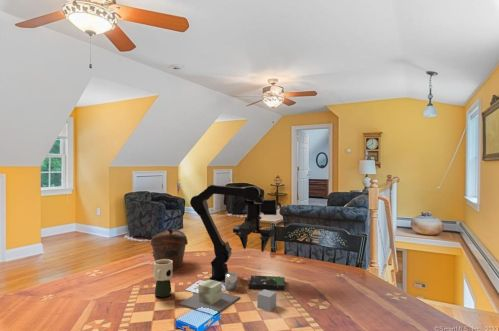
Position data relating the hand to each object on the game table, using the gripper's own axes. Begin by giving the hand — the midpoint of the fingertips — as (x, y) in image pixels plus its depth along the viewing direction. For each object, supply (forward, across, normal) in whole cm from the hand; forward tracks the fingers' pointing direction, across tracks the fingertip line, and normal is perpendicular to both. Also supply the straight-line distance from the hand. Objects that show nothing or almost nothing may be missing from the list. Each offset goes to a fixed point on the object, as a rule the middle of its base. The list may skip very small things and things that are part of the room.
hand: (253, 250), depth 137 cm
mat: (+13, -2, -27) cm, 30 cm away
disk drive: (+14, +8, -2) cm, 16 cm away
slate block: (+13, +18, -19) cm, 29 cm away
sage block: (+12, -2, -27) cm, 30 cm away
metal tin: (+13, -3, -13) cm, 19 cm away
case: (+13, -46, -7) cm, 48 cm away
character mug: (+13, -21, -33) cm, 41 cm away
